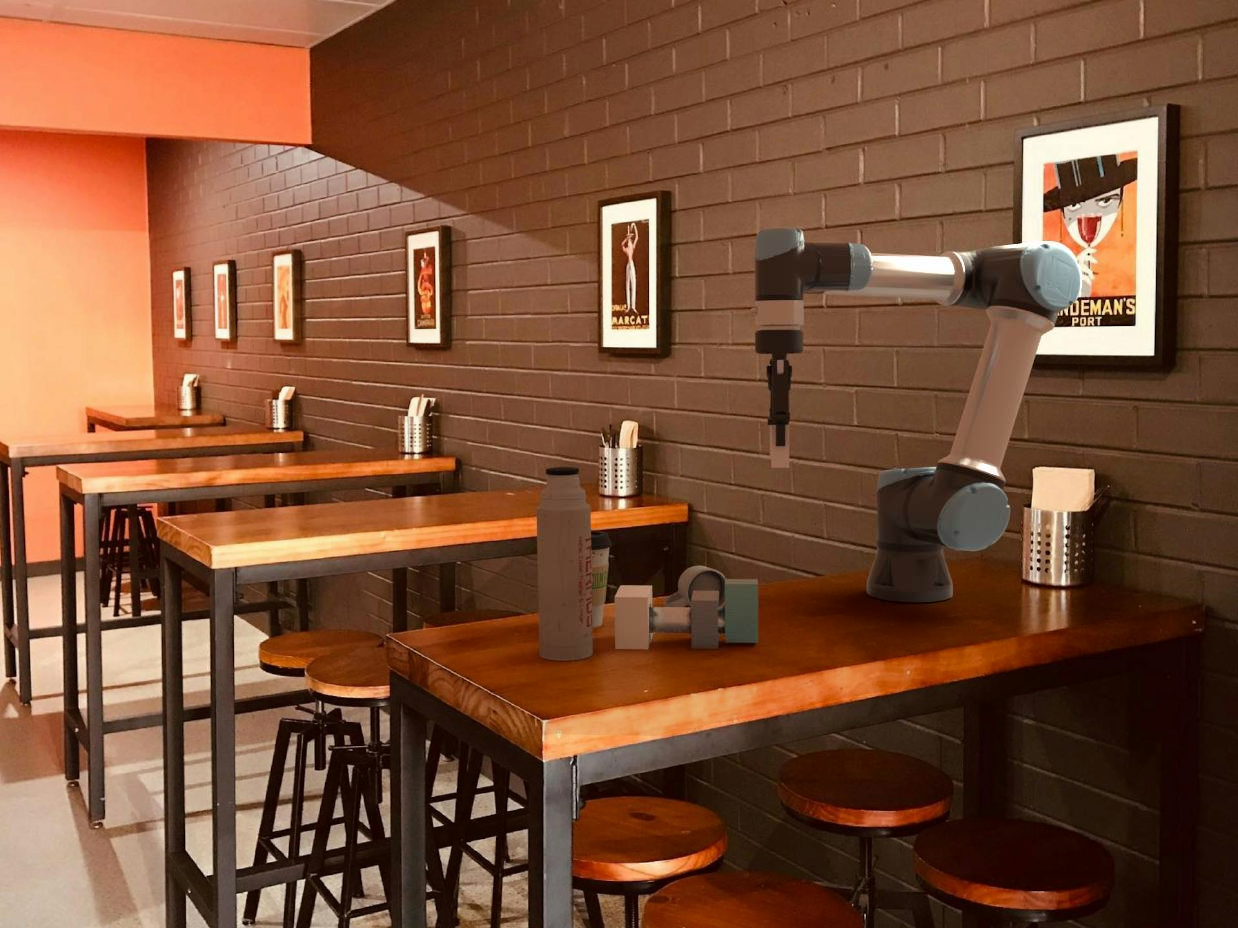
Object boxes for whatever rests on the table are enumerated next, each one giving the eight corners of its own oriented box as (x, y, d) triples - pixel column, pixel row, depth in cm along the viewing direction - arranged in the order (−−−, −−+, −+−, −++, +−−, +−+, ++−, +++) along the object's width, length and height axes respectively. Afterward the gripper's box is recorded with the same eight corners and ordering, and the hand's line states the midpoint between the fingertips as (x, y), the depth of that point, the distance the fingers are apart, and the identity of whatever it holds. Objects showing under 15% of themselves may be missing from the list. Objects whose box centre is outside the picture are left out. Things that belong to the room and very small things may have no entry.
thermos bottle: (603, 651, 191) (600, 466, 188) (573, 663, 184) (570, 471, 181) (559, 645, 195) (556, 464, 192) (528, 656, 188) (524, 468, 186)
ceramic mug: (715, 602, 225) (714, 559, 224) (730, 612, 217) (729, 567, 216) (657, 607, 222) (656, 564, 222) (670, 617, 214) (668, 572, 214)
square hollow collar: (719, 637, 199) (718, 590, 198) (718, 648, 192) (717, 600, 191) (693, 636, 199) (693, 590, 198) (691, 648, 192) (691, 600, 191)
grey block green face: (758, 636, 196) (757, 579, 196) (758, 642, 193) (758, 584, 192) (632, 635, 198) (631, 578, 198) (630, 641, 194) (629, 583, 194)
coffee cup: (569, 633, 203) (567, 540, 201) (543, 621, 211) (542, 532, 210) (623, 626, 207) (622, 535, 206) (596, 615, 216) (595, 527, 214)
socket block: (652, 635, 201) (652, 585, 200) (648, 649, 192) (647, 597, 191) (621, 635, 201) (620, 585, 200) (615, 648, 192) (614, 596, 191)
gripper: (754, 329, 212) (754, 455, 214) (755, 328, 187) (755, 471, 189) (799, 328, 211) (799, 455, 213) (806, 327, 187) (806, 471, 189)
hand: (779, 463), depth 201 cm, fingers open, 13 cm apart
